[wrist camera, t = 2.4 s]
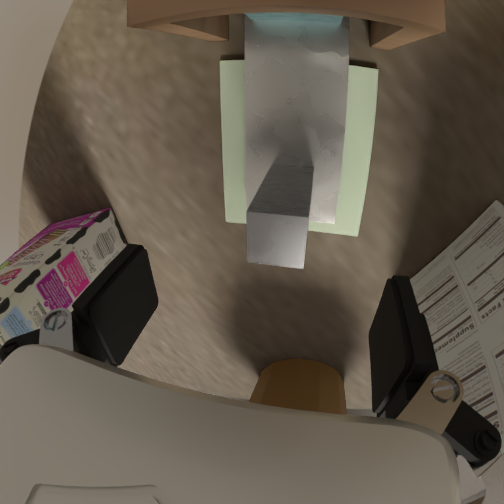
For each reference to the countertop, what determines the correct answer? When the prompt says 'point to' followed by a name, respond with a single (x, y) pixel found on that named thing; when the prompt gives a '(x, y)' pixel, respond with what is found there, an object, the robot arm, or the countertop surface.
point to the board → (354, 150)
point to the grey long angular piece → (293, 129)
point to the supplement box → (470, 312)
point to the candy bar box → (55, 269)
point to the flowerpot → (301, 387)
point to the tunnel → (331, 3)
